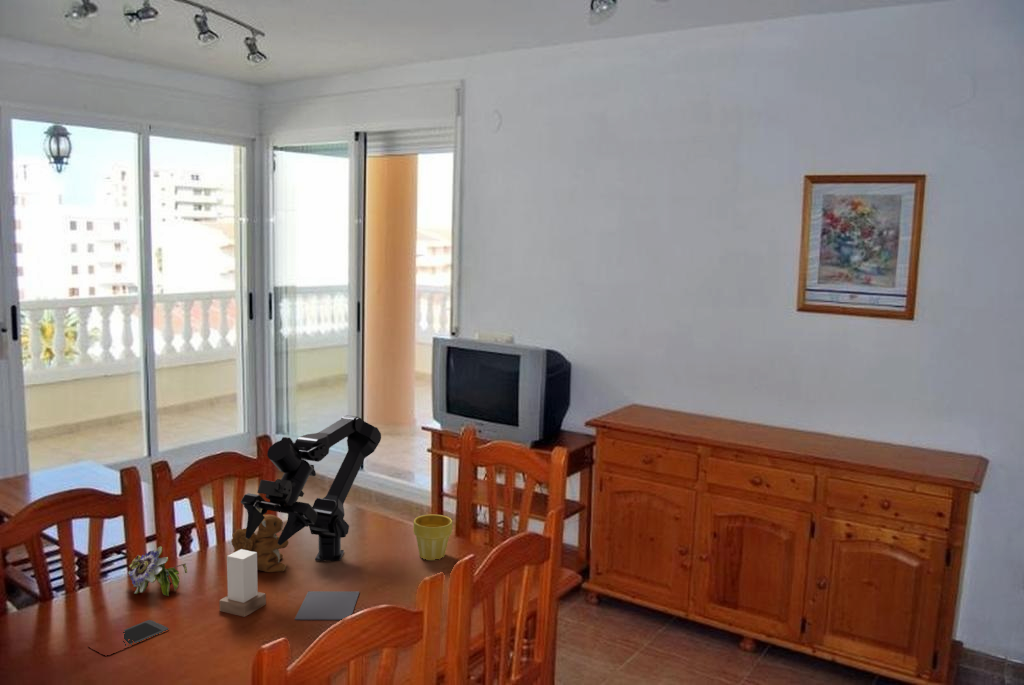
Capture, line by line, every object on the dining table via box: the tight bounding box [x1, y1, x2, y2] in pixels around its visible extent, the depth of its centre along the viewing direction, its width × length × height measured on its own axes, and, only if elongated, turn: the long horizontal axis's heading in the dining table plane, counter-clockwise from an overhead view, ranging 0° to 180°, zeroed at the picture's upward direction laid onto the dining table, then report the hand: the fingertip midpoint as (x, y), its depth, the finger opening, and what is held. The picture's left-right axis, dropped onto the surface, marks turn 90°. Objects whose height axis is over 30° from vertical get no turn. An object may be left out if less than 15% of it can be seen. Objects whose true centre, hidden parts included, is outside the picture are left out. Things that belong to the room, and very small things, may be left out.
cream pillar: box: [226, 549, 259, 603], centre depth 177 cm, size 4×4×10 cm
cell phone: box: [123, 619, 170, 646], centre depth 163 cm, size 7×14×1 cm, turn 147°
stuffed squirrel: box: [231, 513, 289, 573], centre depth 201 cm, size 10×14×13 cm
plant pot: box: [412, 514, 453, 561], centre depth 210 cm, size 10×10×10 cm
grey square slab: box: [219, 591, 267, 618], centre depth 178 cm, size 7×7×2 cm
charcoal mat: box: [294, 590, 360, 621], centre depth 180 cm, size 14×12×1 cm
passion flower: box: [127, 545, 188, 597], centre depth 187 cm, size 11×11×12 cm
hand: (262, 541), depth 183 cm, fingers open, 9 cm apart
